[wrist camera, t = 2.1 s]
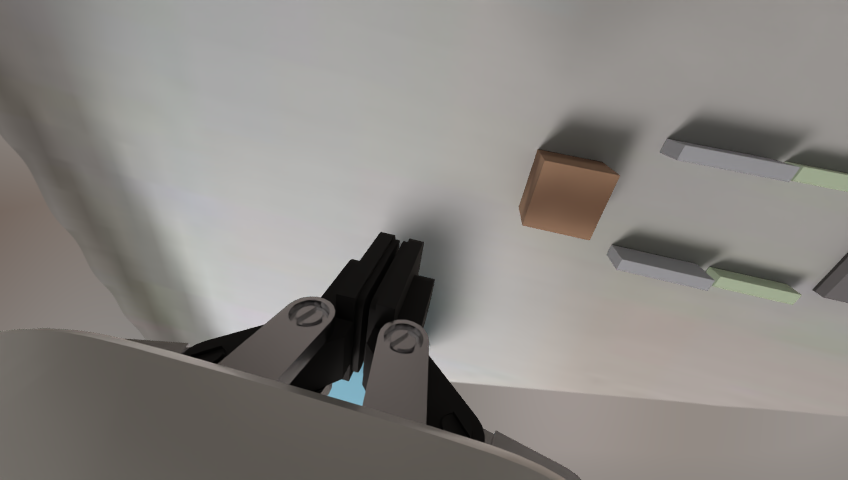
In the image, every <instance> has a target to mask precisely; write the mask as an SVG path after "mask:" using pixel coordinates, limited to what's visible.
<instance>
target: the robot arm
mask: <svg viewBox="0 0 848 480" xmlns="http://www.w3.org/2000/svg"><path fill="white" fill-rule="evenodd" d="M399 243H400V241H399V240H396V239H395V235H391V234H387V233H383V232H380V234H379V235H378V236H377V238H376V239H375V240H374V242H373V243H372V245H371V246H370V247H369V249H368V250H367V252H366V253H365V254H364V256H363V257H362V258H361V260H360V261H358V260H354V259H352V260H350V261H349V262H348V263H347V265H346V266H345V267H344V269H343V270H342V271H341V272H340V274H339V275H338V276H337V277H336V279H335V280H334V281H333V283H332V284H331V285H330V286H329V288H328V289H327V290H326V292H325V293H324V294H323V295H322V297H321V298H320V297H304V298H300V299H297V300H295V301H293V302H292V303H290V304H288V305H287V306H286V307H285V308H284V309H283V310H281V311H280V312H279V313H278V314H277V315H275V316H274V317H273V318H272V319H271V320H269V321H268V322H267V323H266V324H265V325H261V326H258V327H254V328H250V329H247V330H243V331H240V332H236V333H232V334H229V335H225V336H221V337H218V338H214V339H211V340H207V341H204V342H201V343H199V344H196V345H194V346H193V347H190V346H189V343H180V342H165V341H150V340H135V339H121V338H117V337H112V336H107V335H103V334H98V333H92V332H85V331H78V330H68V329H50V328H38V329H17V330H6V331H0V480H581V479H580V478H579V477H578V476H577V475H576V474H575V473H573V472H572V471H571V470H569V469H568V468H566V467H564V466H562V465H560V464H558V463H557V462H555V461H553V460H551V459H549V458H547V457H545V456H543V455H541V454H539V453H538V452H536V451H534V450H532V449H530V448H528V447H526V446H524V445H522V444H520V443H519V442H517V441H515V440H513V439H511V438H509V437H507V436H505V435H503V434H502V433H500V432H498V431H495V433H494V434H493V433H491V432H489V431H487V430H485V429H483V427H482V425H481V423H480V421H479V420H478V418H477V417H476V415H475V414H474V413H473V412H472V410H471V409H470V408H469V406H468V405H467V404H466V403H465V401H464V400H463V399H462V397H461V396H460V395H459V394H458V392H457V391H456V390H455V388H454V387H453V386H452V384H451V383H450V382H449V381H448V379H447V378H446V377H445V375H444V374H443V373H442V372H441V370H440V369H439V368H438V366H437V365H436V364H435V363H434V361H433V360H432V359H431V357H430V356H429V338H428V335H427V333H426V331H425V330H424V329H423V327H424V324H425V320H426V316H427V312H428V308H429V304H430V300H431V295H432V291H433V286H434V281H435V279H431V278H427V277H423V276H419V275H418V272H419V267H420V262H421V256H422V251H423V245H424V242H421V241H417V240H413V239H409V241H408V242H405V241H403V243H402V244H401V246H400V248H399ZM363 363H364V366H363V381H362V385H363V387H364V389H365V391H366V392H365V396H364V400H363V405H362V406H361V405H357V404H354V403H350V402H347V401H344V400H340V399H337V398H333V397H330V396H328V394H329V393H330V391H331V389H332V384H333V383H334V382H337V381H339V380H341V379H342V380H346V381H349V380H350V378H351V376H352V374H353V372H357V373H358V372H359V371H360V369H361V367H362V365H363Z"/></svg>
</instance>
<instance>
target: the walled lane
mask: <svg viewBox="0 0 848 480" xmlns="http://www.w3.org/2000/svg"><path fill="white" fill-rule="evenodd" d="M660 153H662V154H664V155H667V156H669V157H671V158H673V159H676V160H679V161H684V162H689V163H694V164H699V165H704V166H709V167H714V168H719V169H724V170H730V171H735V172H740V173H745V174H750V175H755V176H760V177H765V178H770V179H775V180H780V181H785V182H790V180H791V179H792V178H793V177H794V175H795V174H796V173H797V171H798V170H799V169H800V167H798V166H794V165H791V164H787V163H784V162H781V161H777V160H774V159H770V158H765V157H760V156H755V155H749V154H744V153H739V152H734V151H729V150H723V149H718V148H713V147H708V146H703V145H697V144H692V143H687V142H682V141H677V140H671V139H666V141H665V143H664V145H663V147H662V149H661V151H660ZM607 256H608V257H609V259H610V260H611V262H612V264H613V265H614V267H615V268H616V270H620V271H624V272H629V273H633V274H637V275H641V276H646V277H650V278H654V279H659V280H663V281H667V282H672V283H676V284H680V285H685V286H689V287H693V288H697V289H702V290H706V291H708V289H709V288H710V287H711V286H712V284H713V283H714V282H715V280H714V279H713V278H712V277H711V276H709V275H708V274H707V273H706V272H705V271H704V270H703V269H702V268H701V267H700V266H699V265H697V264H695V263H690V262H686V261H682V260H677V259H673V258H668V257H664V256H659V255H655V254H650V253H646V252H642V251H637V250H633V249H628V248H624V247H619V246H615V245H611V247H610V249H609V251H608V253H607Z"/></svg>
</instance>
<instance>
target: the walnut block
mask: <svg viewBox="0 0 848 480" xmlns="http://www.w3.org/2000/svg"><path fill="white" fill-rule="evenodd" d="M619 177H620V175H618V174H617V173H616V172H615V171H613V170H612V169H611V168H609V167H608V166H607V165H606V164H604V163H603V162H599V161H594V160H589V159H584V158H579V157H574V156H569V155H564V154H559V153H554V152H549V151H544V150H539V149H538V150H537V153H536V156H535V159H534V162H533V165H532V168H531V171H530V175H529V178H528V181H527V184H526V187H525V190H524V193H523V196H522V199H521V202H520V205H519V211H520V216H521V221H522V225H523V226H528V227H532V228H537V229H541V230H546V231H550V232H555V233H559V234H564V235H568V236H572V237H577V238H581V239H586V240H590V238H591V236H592V234H593V232H594V230H595V228H596V226H597V223H598V221H599V219H600V217H601V215H602V213H603V211H604V209H605V206H606V204H607V202H608V200H609V198H610V196H611V194H612V192H613V190H614V187H615V185H616V183H617V181H618V179H619Z"/></svg>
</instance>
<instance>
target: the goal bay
mask: <svg viewBox="0 0 848 480" xmlns="http://www.w3.org/2000/svg"><path fill="white" fill-rule="evenodd" d="M785 163H787V164H791V165H794V166H798V167H800V169H799V170H798V171H797V173H796V174H795V175H794V177H793V178H792V179H791V181H795V182H800V183H805V184H810V185H815V186H820V187H825V188H830V189H836V190H841V191H846V192H848V173H843V172H838V171H833V170H828V169H822V168H817V167H812V166H807V165H802V164H796V163H791V162H786V161H785ZM706 273H707V274H708V275H709V276H711V277H712V278H713V279H714V280H715V282H714V283H713V284H712V286H713V287H717V288H722V289H726V290H730V291H735V292H739V293H743V294H748V295H752V296H756V297H761V298H765V299H769V300H774V301H778V302H782V303H787V304H791V305H793V304H794V303H795V302H796V301H797V300H798V299H799V298H800V297H801V294H800V293H798V292H797V291H795V290H794V289H792V288H791V287H790V286H788V285H787V284H784V283H779V282H775V281H770V280H766V279H761V278H757V277H753V276H748V275H744V274H739V273H735V272H730V271H726V270H721V269H717V268H713V267H709V268H708V269H707V271H706Z"/></svg>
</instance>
